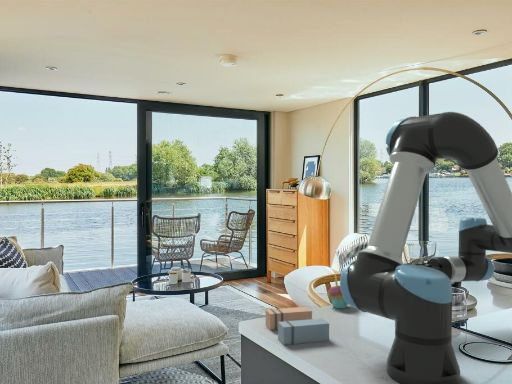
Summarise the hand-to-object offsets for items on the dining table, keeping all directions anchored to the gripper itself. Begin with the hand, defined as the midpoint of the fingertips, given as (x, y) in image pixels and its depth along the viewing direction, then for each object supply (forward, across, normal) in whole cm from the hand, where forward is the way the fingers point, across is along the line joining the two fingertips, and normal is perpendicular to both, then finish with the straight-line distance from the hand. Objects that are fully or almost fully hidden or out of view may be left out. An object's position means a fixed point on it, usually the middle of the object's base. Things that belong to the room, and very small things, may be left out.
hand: (375, 271), depth 124 cm
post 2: (+15, 0, -15) cm, 22 cm away
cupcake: (-2, +26, -17) cm, 31 cm away
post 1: (+15, +12, -15) cm, 24 cm away
